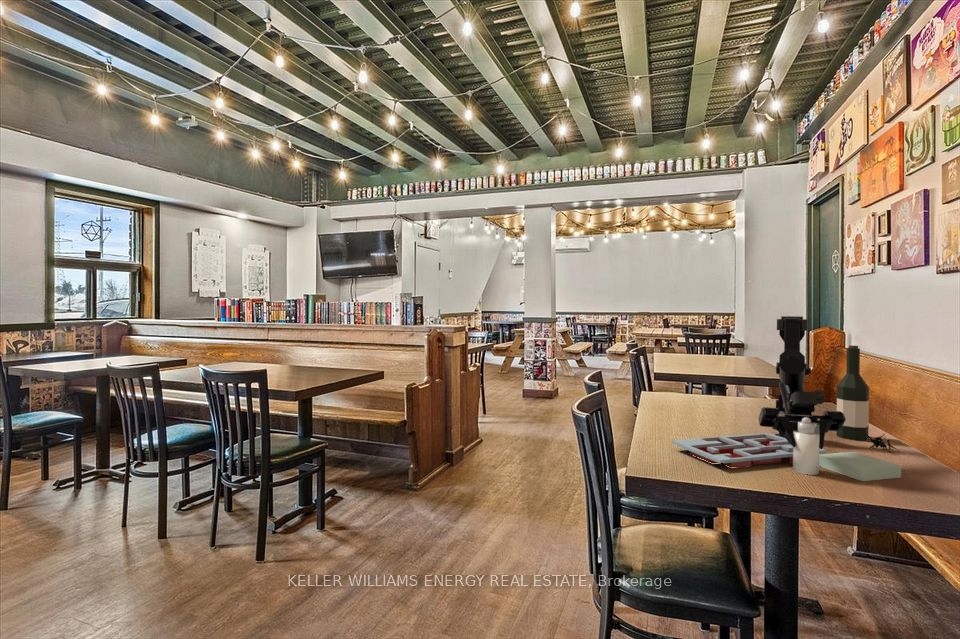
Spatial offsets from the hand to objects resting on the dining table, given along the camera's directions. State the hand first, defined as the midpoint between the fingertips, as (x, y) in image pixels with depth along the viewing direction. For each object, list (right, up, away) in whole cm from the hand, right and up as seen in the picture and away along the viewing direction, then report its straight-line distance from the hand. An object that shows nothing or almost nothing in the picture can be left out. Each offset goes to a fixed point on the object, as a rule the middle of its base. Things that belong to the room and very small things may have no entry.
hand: (808, 447), depth 122 cm
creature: (+35, -7, +19) cm, 40 cm away
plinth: (+14, -7, +1) cm, 15 cm away
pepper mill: (0, -7, +1) cm, 7 cm away
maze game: (-7, -7, +16) cm, 19 cm away
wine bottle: (+38, -6, +34) cm, 52 cm away
